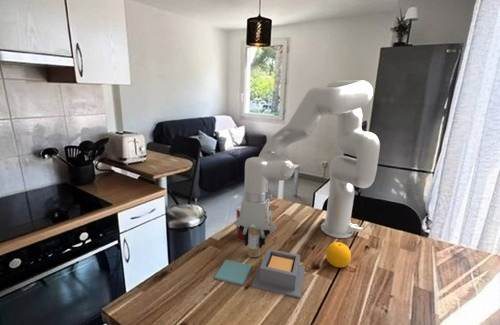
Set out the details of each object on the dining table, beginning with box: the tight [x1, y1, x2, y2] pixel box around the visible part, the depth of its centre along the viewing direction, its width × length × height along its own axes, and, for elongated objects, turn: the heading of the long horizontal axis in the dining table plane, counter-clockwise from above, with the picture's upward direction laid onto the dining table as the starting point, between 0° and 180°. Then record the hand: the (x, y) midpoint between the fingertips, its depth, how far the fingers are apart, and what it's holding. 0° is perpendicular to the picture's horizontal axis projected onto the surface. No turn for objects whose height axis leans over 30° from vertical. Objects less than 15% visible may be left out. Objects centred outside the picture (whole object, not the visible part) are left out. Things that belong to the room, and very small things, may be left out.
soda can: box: [235, 205, 245, 243], centre depth 102 cm, size 7×7×12 cm
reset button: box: [268, 255, 294, 272], centre depth 81 cm, size 7×7×2 cm
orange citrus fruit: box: [325, 241, 352, 268], centre depth 88 cm, size 8×8×8 cm
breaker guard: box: [251, 248, 306, 299], centre depth 81 cm, size 14×14×6 cm
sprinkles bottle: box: [247, 224, 261, 258], centre depth 91 cm, size 5×5×13 cm
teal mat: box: [214, 259, 253, 286], centre depth 83 cm, size 9×9×1 cm
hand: (254, 244), depth 91 cm, fingers closed on sprinkles bottle, 4 cm apart
